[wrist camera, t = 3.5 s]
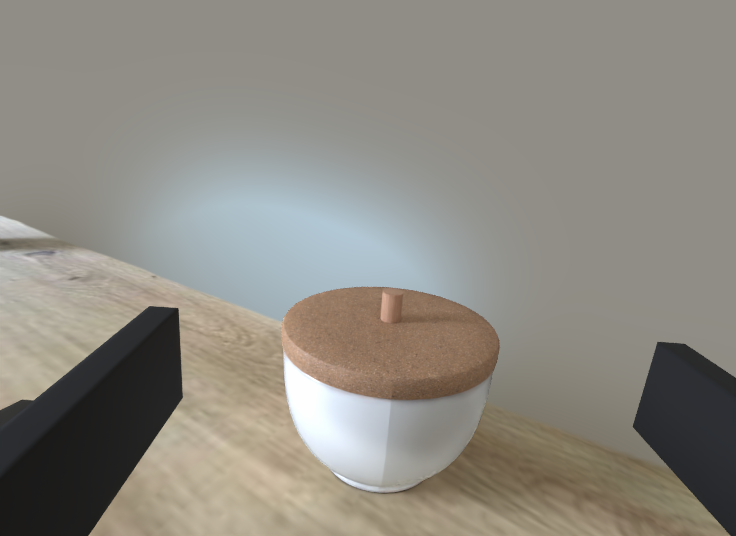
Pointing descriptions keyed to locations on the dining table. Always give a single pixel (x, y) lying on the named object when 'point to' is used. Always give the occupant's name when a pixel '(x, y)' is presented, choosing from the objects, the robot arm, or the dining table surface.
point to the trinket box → (386, 382)
